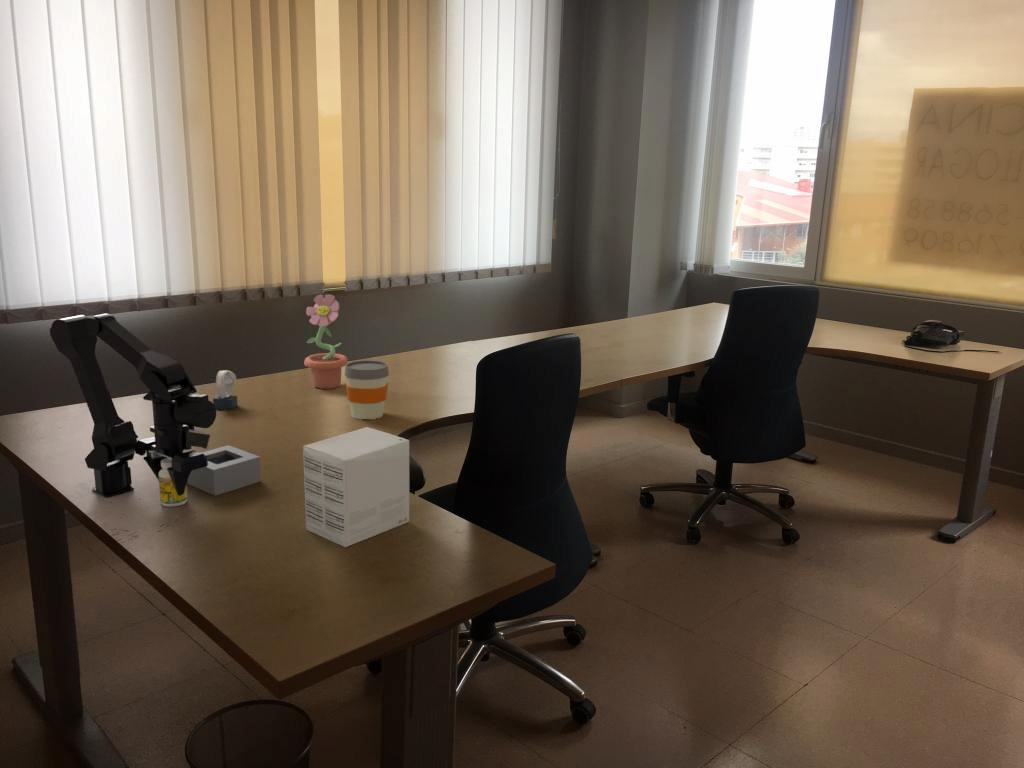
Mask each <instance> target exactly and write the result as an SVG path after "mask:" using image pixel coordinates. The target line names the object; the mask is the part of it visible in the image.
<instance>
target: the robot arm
mask: <svg viewBox="0 0 1024 768" xmlns="http://www.w3.org/2000/svg"><path fill="white" fill-rule="evenodd" d="M49 334H50V337H51V340H52V341H53V343H54V346H55V347H56V349H57V351H58V352H59V353H60V354H62V355H63V356H65V358H67V359H68V360H69V361H70V363H71V367H72V368H73V371H74V374H75V376H76V379H77V381H78V385H79V387H80V389H81V392H82V395H83V397H84V401H85V403H86V405H87V408H88V411H89V413H90V415H91V418H92V421H93V424H94V425H93V430H92V433H91V442H92V446H93V449H92V450H91V451H90V452H89V453H88V454H87V455H86V456H85V458H84V461H85V465H86V466H87V468H88V469H91V470H93V475H94V476H93V477H94V483H95V484H94V485H95V486H93V487H92V488H91V490H92V491H93V492H94V493H95V492H96V494H98V495H101V496H103V497H105V498H109V497H112V496H116V495H119V494H122V493H126V492H129V491H133V490H134V489H135V486H133V485H132V483H133V481H132V470H131V467H130V466H129V462H128V461H132V460H134V459H135V458H134V457H135V454H136V455H139V456H142V457H143V458H142V459H143V461H145V463H146V464H147V465H148V467H149V468H150V470H151V471H152V473H153V474H154V476H155V478H156V479H157V481H158V482H159V471H160V470H161V469H163V468H162V467H161V460H163V459H165V458H169V459H172V460H171V462H172V467H169V468H167V470H168V472H169V475H170V477H171V480H172V482H173V485H174V487H175V490H176V492H177V494H178V495H179V496H180V495H183V494H184V491H185V488H186V486H187V485H188V484H187V481H188V478H189V475H190V473H191V471H192V470H196V469H199V468H203V467H206V466H208V458H207V456H206V455H204V454H203V453H201V451H198V450H195V449H193V450H192V447H196V448H197V447H198V448H202V449H206V450H207V449H208V445H209V441H210V438H211V434H210V433H207V432H204V431H203V430H197V429H195V428H201V429H208V428H210V427H212V425H213V424H214V423H215V422H216V418H217V409H216V408H215V406H214V404H213V401H210V400H209V395H208V394H196V393H198V391H197V388H196V387H195V385H194V383H193V382H192V380H191V379H190V378H189V376H188V375H187V373H186V371H185V368H184V366H183V365H182V364H181V363H180V362H178V361H177V360H176V359H174V358H172V357H170V356H168V355H166V354H162V353H159V352H156V351H154V350H153V349H151V348H150V347H149V346H147V345H146V344H145V343H144V342H142V341H141V340H140V339H138V337H136V336H135V335H134V334H133V333H132V332H130V331H129V330H128V329H127V328H125V327H124V326H123V325H122V324H120V323H119V321H117V318H115V316H114V315H113V314H110V313H102V314H97V315H92V316H90V317H88V316H86V315H84V314H80V315H78V314H77V315H74V316H68V317H64V318H57V319H55V320H54V321H53V323H52V324H51V326H50V328H49ZM98 339H100V341H102V342H103V343H104V344H106V345H107V347H110V348H111V349H112V350H113V351H114V352H115V353H116V354H118V355H119V356H120V357H122V358H123V359H124V360H125V361H126V362H127V363H129V364H130V365H131V366H132V367H134V369H135V370H136V372H137V376H138V378H139V380H140V381H141V383H142V384H143V385H144V386H145V387H146V388H147V389H148V390H149V391H148V392H147V393H146V394H145V395H144V396H143V397H142V399H143V400H144V401H150V402H151V404H152V405H151V406H152V415H153V416H152V417H153V420H152V421H153V425H152V426H149V431H150V432H151V433H154V436H150V437H146V438H142V439H139V436H138V435H137V433H136V431H135V429H134V424H133V422H132V421H131V420H128V421H125V420H123V419H122V418H121V417H120V416H119V414H118V412H117V409H116V407H115V403H114V401H113V399H112V395H111V393H110V391H109V388H108V385H107V382H106V380H105V377H104V374H103V372H102V369H101V367H100V364H99V361H98V358H97V356H96V349H97V344H98ZM171 390H172V391H171ZM189 450H190V451H189ZM184 451H186V452H184ZM145 455H146V456H145Z"/></svg>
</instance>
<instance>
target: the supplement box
mask: <svg viewBox="0 0 1024 768" xmlns="http://www.w3.org/2000/svg"><path fill="white" fill-rule="evenodd" d="M302 451H303V453H302V455H303V479H304V480H303V481H304V486H303V487H304V505H305V506H304V507H305V510H304V511H305V529H306V530H307V531H308V532H311V533H313V534H315V535H317V536H320V537H322V538H324V539H326V540H328V541H330V542H333V543H335V544H337V545H339V546H342V547H343V548H347V547H350V546H351V545H354V544H357V543H359V542H362V541H364V540H367V539H369V538H372V537H375V536H377V535H379V534H382V533H385V532H387V531H390V530H392V529H395V528H397V527H400V526H403V525H404V524H407V523H410V439H406V438H404V437H400V436H398V435H394V434H392V433H388V432H385V431H381V430H379V429H376V428H372V427H371V428H370V427H368V426H366V427H362V428H359V429H356V430H353V431H349V432H345V433H342V434H339V435H336V436H333V437H330V438H325V439H322V440H320V441H315V442H312V443H309V444H305V445H303V446H302Z"/></svg>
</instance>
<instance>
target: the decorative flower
mask: <svg viewBox="0 0 1024 768" xmlns="http://www.w3.org/2000/svg"><path fill="white" fill-rule="evenodd" d="M335 298H336V297H335V295H333V294H330V293H328V294H327V293H326V294H325V295H323V294H318V295H316V296H315V297H314V298H313V302H314V303H315V304H314V305H313V306H307V308H306V309H305V310H306V311H305V313H306V315H307V317H311V318H310V319H309V323H310V324H311V325H314V326H317V325H318V327H319V328H318V331H317V334H316V337H313V336H312V337H310V338H309V339H307V341H306V343H307V344H312V343H314V342H315V343H316V346H317V347H319V348H320V349H322V350H326V351H329V352H326V353H325V352H323V353H315V354H311V355H309V356H307V357H306V358H305V359H304V366H305V367H307V368H310V369H311V376H312V383H313V386H314V387H315V388H316V387H317V389H319V388H320V390H331V389H336V388H338V387H340V385H341V383H342V368H343V367H344V368H345V365H346V364H347V363H349V360H348V357H347V356H346V355H344V354H341V353H336V348H338V347H340V345H341V344H342V342H338V343H337V344H335V345H332V344H328V343H324V342H322V338H323V335H324V333H325V334H326V335H327V336H329V337H330V338H332V333H331V331H330V329H329V328H328V327H327V326H329V325H330V324H331V323H334V322H335V321H336V320H337V318H338V317H339V310H340V304H339V301H337V300H336V299H335Z"/></svg>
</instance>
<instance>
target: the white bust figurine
mask: <svg viewBox="0 0 1024 768" xmlns="http://www.w3.org/2000/svg"><path fill="white" fill-rule="evenodd" d="M215 377H216V378H215V390H216V396H215V397H213V398H212V403H213V404H214V406H215V408H216V410H229V409H230V410H233V408H234V407H235V408H236V407H238V395H233V394H232V393H233V390H234V386H235V384H236V383H235V382H236V380H237V376H236V374H235V373H234V372H233V371H231V370H227V369H225V370H219V371H217V374H216V376H215ZM235 408H234V409H235Z"/></svg>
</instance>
